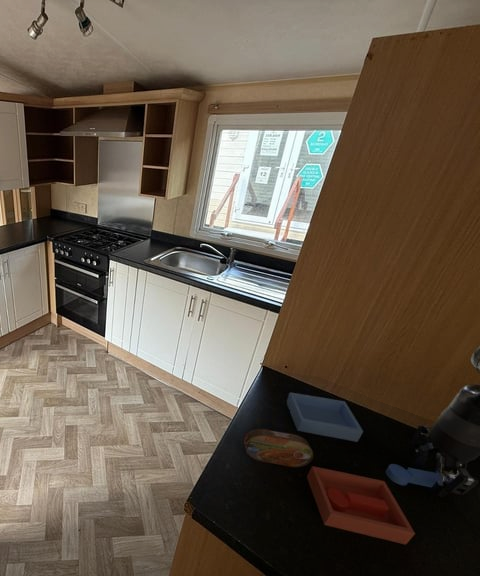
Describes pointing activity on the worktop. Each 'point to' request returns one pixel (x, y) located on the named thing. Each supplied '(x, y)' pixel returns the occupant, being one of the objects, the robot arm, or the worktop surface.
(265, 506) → the worktop surface
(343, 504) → the red spoon
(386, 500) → the terracotta bin
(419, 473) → the blue spoon
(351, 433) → the blue bin
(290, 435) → the tin
